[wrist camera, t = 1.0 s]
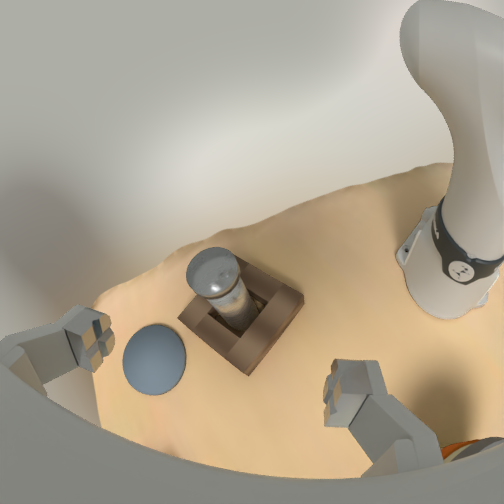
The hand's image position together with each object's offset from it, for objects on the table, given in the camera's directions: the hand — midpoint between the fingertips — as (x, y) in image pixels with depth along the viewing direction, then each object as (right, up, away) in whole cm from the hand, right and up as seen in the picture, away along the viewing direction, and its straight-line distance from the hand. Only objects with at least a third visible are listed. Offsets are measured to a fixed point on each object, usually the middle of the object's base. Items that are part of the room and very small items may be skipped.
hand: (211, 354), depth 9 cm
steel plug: (0, -6, +33) cm, 33 cm away
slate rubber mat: (-15, -14, +31) cm, 37 cm away
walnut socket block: (0, -6, +33) cm, 33 cm away
